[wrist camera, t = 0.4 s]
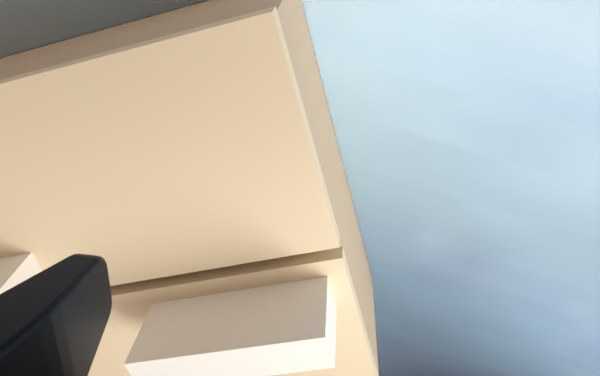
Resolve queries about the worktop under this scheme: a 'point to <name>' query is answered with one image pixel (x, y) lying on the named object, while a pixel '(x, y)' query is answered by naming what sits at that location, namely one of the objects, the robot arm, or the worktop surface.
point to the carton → (232, 3)
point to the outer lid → (162, 157)
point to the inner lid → (240, 322)
